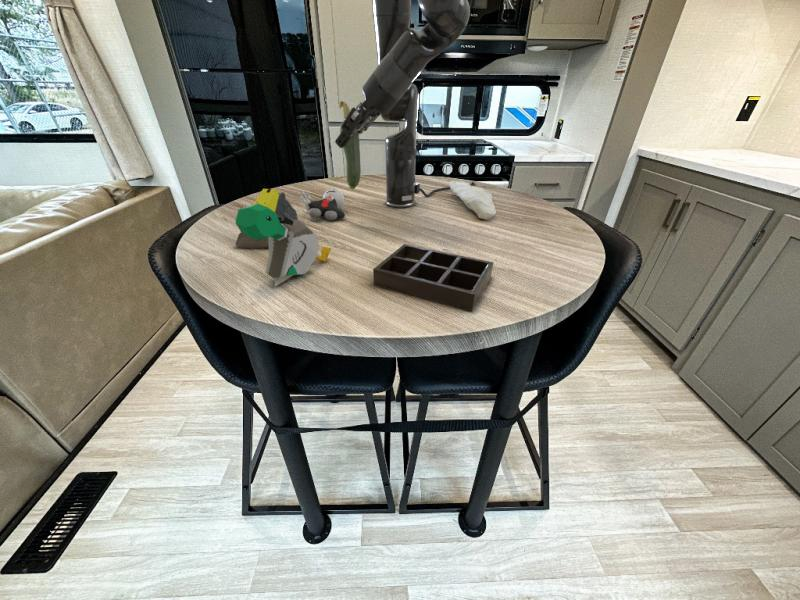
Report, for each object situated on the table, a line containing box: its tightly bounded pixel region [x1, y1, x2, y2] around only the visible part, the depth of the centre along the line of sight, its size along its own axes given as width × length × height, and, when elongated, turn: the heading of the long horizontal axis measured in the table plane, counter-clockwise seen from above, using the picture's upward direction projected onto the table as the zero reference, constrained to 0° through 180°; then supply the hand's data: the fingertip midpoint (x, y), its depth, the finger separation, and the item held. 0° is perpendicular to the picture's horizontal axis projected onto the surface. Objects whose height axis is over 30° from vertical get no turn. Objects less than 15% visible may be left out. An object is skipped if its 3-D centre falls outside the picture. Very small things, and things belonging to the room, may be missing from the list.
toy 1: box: [234, 188, 332, 288], centre depth 63 cm, size 6×17×20 cm
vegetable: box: [339, 100, 362, 190], centre depth 79 cm, size 4×4×20 cm
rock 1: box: [235, 191, 299, 249], centre depth 79 cm, size 11×11×15 cm
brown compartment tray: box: [372, 243, 494, 312], centre depth 63 cm, size 13×20×4 cm
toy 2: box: [297, 188, 346, 221], centre depth 97 cm, size 15×7×15 cm
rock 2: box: [449, 180, 497, 220], centre depth 104 cm, size 14×5×30 cm
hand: (343, 143), depth 79 cm, fingers closed on vegetable, 4 cm apart
